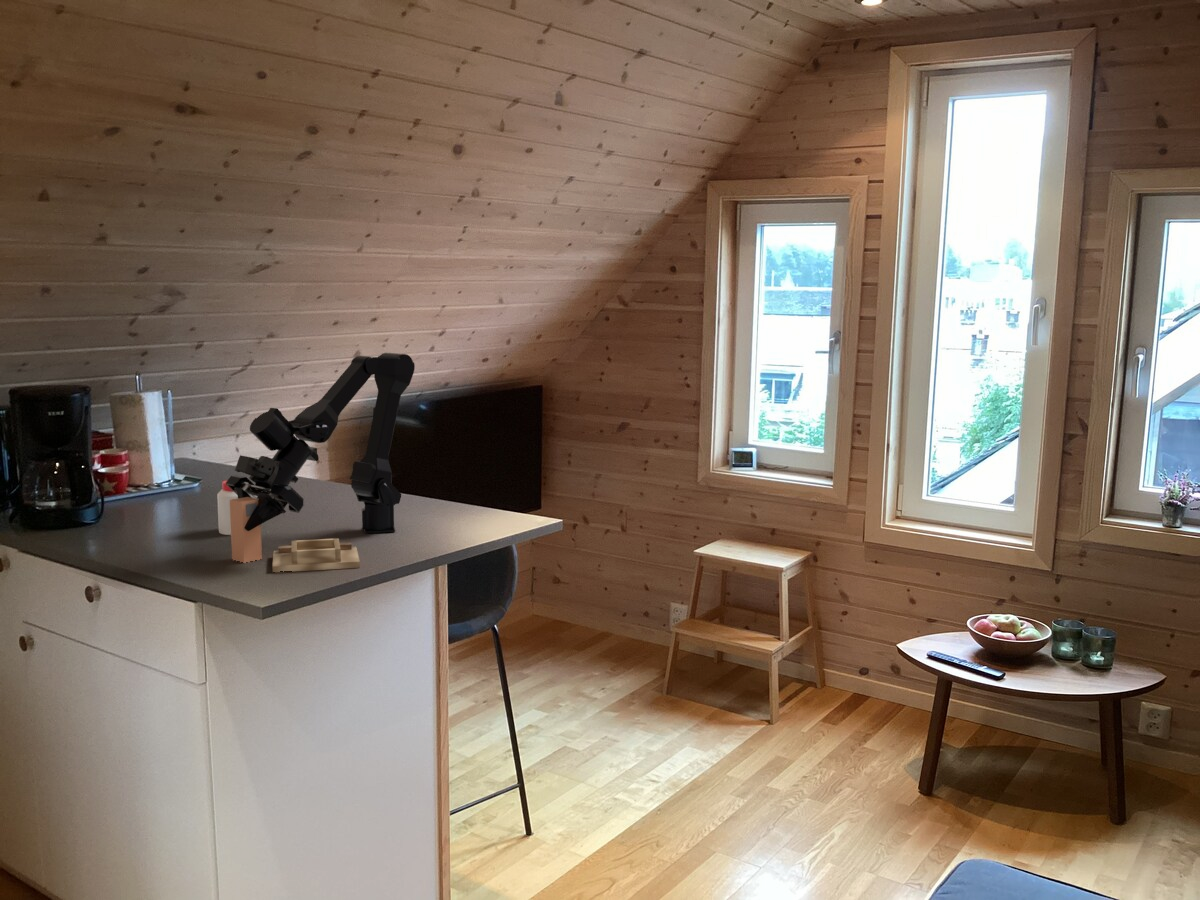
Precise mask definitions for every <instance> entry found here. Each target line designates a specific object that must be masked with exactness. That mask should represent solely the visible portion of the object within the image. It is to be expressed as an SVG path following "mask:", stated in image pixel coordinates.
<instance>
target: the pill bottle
mask: <svg viewBox="0 0 1200 900" xmlns="http://www.w3.org/2000/svg"><path fill="white" fill-rule="evenodd" d="M226 482H227V480H223V481H222V482H221V484H222V485H221V486H222V489H220V491H218V492H217V495H216V496H217V519H218V522H217V523H218V533H219V534H221V535H226V536H231V520H230V500H232V499H238V495H237V494H236V493H235V492H233V491H232V490H231V489H230V488H229V487H228V486H227V485H226Z"/></svg>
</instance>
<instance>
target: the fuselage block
mask: <svg viewBox="0 0 1200 900" xmlns="http://www.w3.org/2000/svg"><path fill="white" fill-rule="evenodd" d="M258 502H259V499H255V498H250V497H244V498H238V499H232V500H230V520H231V535H230V537H231V538H230V539H231V541H230V542H231V560H232V559H233V560H232V561H234V560H236V561H235V562H237V561H240V562H239V563H241V562H243V563H242V564H247V563H246V562H248V563H251V562H250V561H253V562H256V561H255V560H257V561H261V560H260V559H263V557H262V556H263V554H262V552H263V549H262V526H261V525H262V524H261V525H259V526H257V527H255V528H253V529H252V530H250V531H247V530H246V529H245V528H244V527H245V525H246V523H247V521H248V520H249V518H250V516H251V515H252V513H253V511H254V510H255V508H256V507H257V505H258Z"/></svg>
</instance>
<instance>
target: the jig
mask: <svg viewBox="0 0 1200 900" xmlns="http://www.w3.org/2000/svg"><path fill="white" fill-rule="evenodd" d="M360 567H361V561H360V555H359V552H358V549H357V546H352V542H350V541H349V542H340V539H339V538H338V537H337V538H335V537H334V538H321V539H320V538H319V539H318V538H317V539H300V540H297V539H296V540H291V545H278V550H273V555H272V573H273V572H275V573H281V572H280V571H283V572H282V573H285V572H284V571H292V572H304V571H323V570H324V571H325V570H338V569H342V570H343V569H355V568H357V569H358V568H359V569H360Z"/></svg>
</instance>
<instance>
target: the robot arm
mask: <svg viewBox="0 0 1200 900" xmlns="http://www.w3.org/2000/svg"><path fill="white" fill-rule="evenodd" d="M414 374H415V362H414V361H413V359H412V357H411V356H410V355H408V354H407V353H394V352H384V353H383V352H382V353H381V354H380V355H378V356H367V355H356V356H355V357H353V358H352V360H351V362H350V364H349V366H348V367H347V368H346V369H345V371H344V372H343V373H341V375H340V376H339V378H338V379H336V381H335V382H334V384H333V385H332V386H331V387H330V388H329V389H328V390H327V392H326V393H325V394H324V395H323V396H322V397H321V398H320V399H319V400H318V401H316V402H315V403H313V404H311V405H309V406H307V407H305V408H304V409H303V410H302V411H301V412H299V414H297V415H296V416H295V418H294V419H293V420H289V421H288V419H287V418H286V417H285V416H284V415H283V414H282V412H281V411H280V410H279V409H278V408H275V407H270V408H269V409H268V410H267V411H265V412H263V413H261V414H259V416H257V417H255V418H254V419H253V420H252V422H251V423H250V425H249V432H250V433H251V434H252V435H253V436H254V437H255V438H256V439H257V440H258V441H259V442H260V443H262V444H263V446H264V447H265V448H267V450H268V451H272V452H275V451H276V452H275V454H274V455H273V456H272V458H271V457H269V456H265V455H261V456H259V457H258V458H257V457H256V458H255V457H250V456H246V455H239V457H238V460H237V463H236V465H235V468H234V471H235V472H238V473H242V474H246V475H249V478H248V477H247V476H243V475H238V474H236V475H231V476H229V477H228V479H227V480H226V481H227V482H226V485H227V486H228V487H229V488H230V489H231V490H232V491H233V492H235V493H236V494H237V495H238V498H244V497H250V498H255V499H259V502H258V505H257V507H256V508H255V510H254V511H253V513H252V515H251V516H250V518H249V520H248V521H247V523H246V525H245V527H244V528H245V529H246V530H247V531H250V530H252V529H253V528H255V527H257V526H259V525H262V524H264V523H266V522H268V521H269V520H271V519H273V518H275V517H278V516H279V515H282V514H285V513H286V512H287V511H286V510H285V508H286V507H287V505H288V510H289V511H290V512H292V513H296V514H299V513H300V512H301V511H302V509H303V507H304V506H305V498H303V497H302V495H300V494H299V493H298V492H297V491H296V490H295V489H294V488H293V487H292V486H291V485H290V484H291V483H294V484H295V483H297V482H298V480H299V477H297V475H298V473H299V472H300V470H301V469H302V468H303V466H304V465H305V463H306V462H307V461H312V462H319V460H320V459H319V458H320V457H319V454H318V448H317V447H313V446H310V445H309V444H308V443H307V442H310V443H315V444H316V443H317V444H320V443H321V444H323V443H326V442H327V441H329V439H330V438H331V436H332V435H333V433H334V431H335V430H336V428H337V426H338V422H339V421H338V420H339V416H340V415H341V413H342V411H343V410H344V409H346V407H347V406H348V405H349V403H350V402H351V401H352V399H354V397H355V396H356V395H357V394H358V393H359V391H360V390H361V389H362V388H363V386H364V385H365V384H366V383H367V381H368V380H369V379H370V378H371V376H373V375H374V381H375V385H376V387H377V395H376V399H375V405H374V411H373V416H372V420H371V424H370V426H371V427H370V430H369V435H368V442H367V446H366V451H365V455H364V456H363V458H362V459H361V460H360V461H357V460H355V461H354V462H353V464H352V471H351V475H350V477H349V480H351V482H350V483H351V488H352V491H353V492H354V493H355V496H356V498H357V502H362V503H363V507H361V511H360V513H361V514H360V516H361V529H362V530H364V533H365V534H377V533H380V534H381V533H395V532H396V528H395V507H394V506H395V505H398V504H400V502H401V498H402V493H401V492H400V491H399V490H398V489H397V488H396V487H395V486H394V485H393V484H392V481H393V480H392V479H393V478H392V477H393V471H392V467H391V465H390V461H389V456H390V451H391V446H392V442H393V435H394V432H395V425H396V422H397V416H398V411H399V408H400V407H399V406H400V402H401V396H402V394H403V393H404V392H405V391H406V390H407V389H408V387H409V386H410V384H411V381H412V379H413V376H414ZM253 482H254V483H253Z"/></svg>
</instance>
